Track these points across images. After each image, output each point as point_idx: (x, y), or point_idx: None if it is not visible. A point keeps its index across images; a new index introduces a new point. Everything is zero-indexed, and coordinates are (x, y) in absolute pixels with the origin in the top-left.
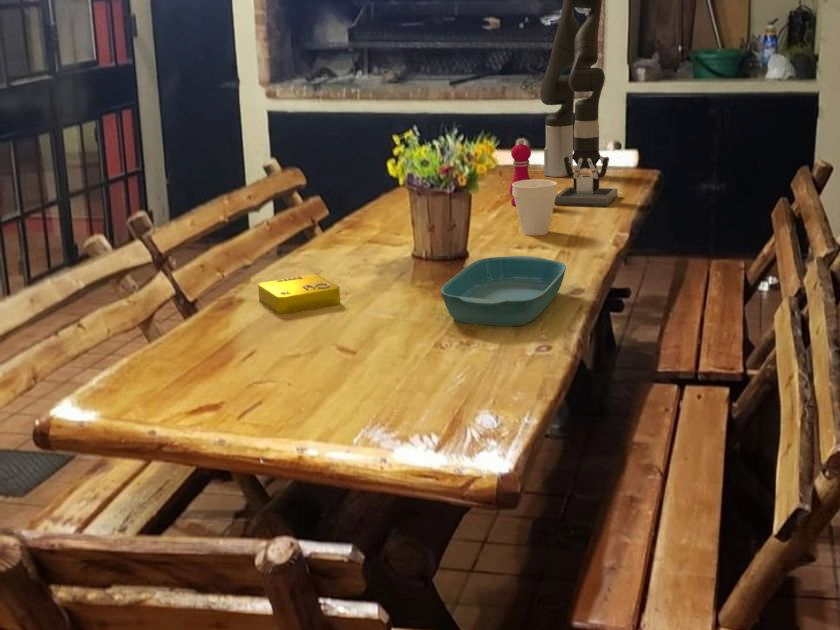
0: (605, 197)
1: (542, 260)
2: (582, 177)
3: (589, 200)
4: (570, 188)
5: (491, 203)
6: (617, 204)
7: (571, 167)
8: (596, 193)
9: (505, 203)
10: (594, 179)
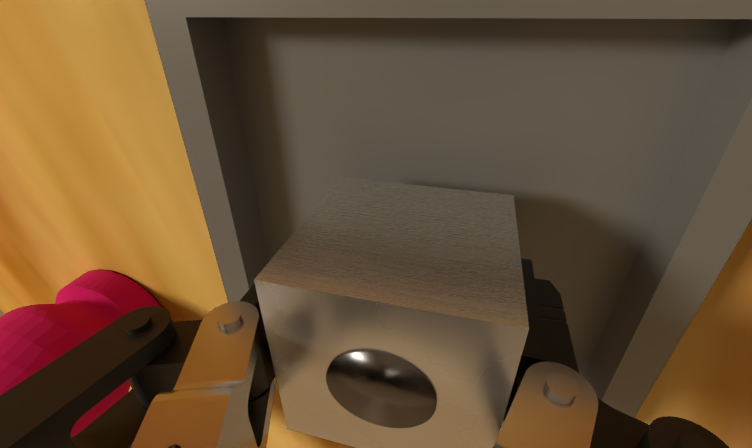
0: None
1: None
2: (351, 439)
3: None
4: (196, 18)
5: (6, 279)
6: (701, 339)
7: (72, 410)
8: (507, 18)
9: (51, 281)
10: (504, 420)
